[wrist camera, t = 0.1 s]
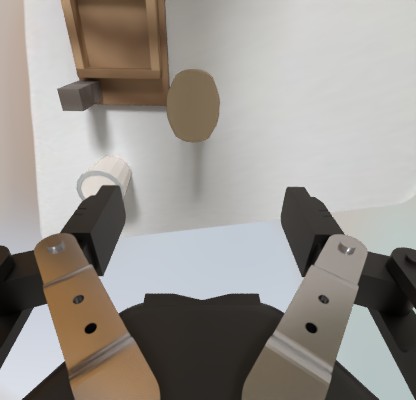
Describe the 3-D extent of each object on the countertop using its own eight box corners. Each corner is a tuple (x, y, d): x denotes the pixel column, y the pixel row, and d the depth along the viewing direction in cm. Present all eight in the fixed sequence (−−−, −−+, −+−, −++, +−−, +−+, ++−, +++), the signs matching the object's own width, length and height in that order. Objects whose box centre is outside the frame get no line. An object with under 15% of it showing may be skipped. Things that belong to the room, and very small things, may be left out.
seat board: (50, -71, 29) (2, -102, 22) (161, -67, 29) (147, -97, 22) (87, 102, 38) (62, 117, 32) (170, 104, 38) (162, 119, 32)
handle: (216, 57, 35) (222, 72, 23) (213, 107, 39) (216, 143, 26) (180, 55, 35) (166, 68, 22) (180, 105, 39) (167, 140, 26)
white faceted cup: (85, 156, 43) (66, 176, 37) (124, 146, 42) (111, 165, 36) (104, 191, 47) (90, 215, 41) (141, 183, 46) (131, 205, 40)
